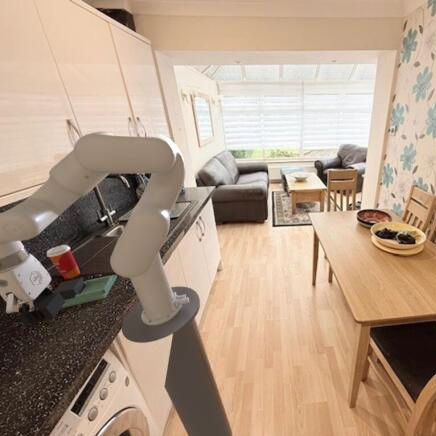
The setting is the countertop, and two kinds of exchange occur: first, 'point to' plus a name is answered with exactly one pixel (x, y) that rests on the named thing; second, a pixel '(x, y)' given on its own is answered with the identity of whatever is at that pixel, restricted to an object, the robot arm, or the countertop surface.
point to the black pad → (46, 306)
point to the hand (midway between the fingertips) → (44, 310)
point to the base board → (84, 290)
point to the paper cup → (64, 261)
